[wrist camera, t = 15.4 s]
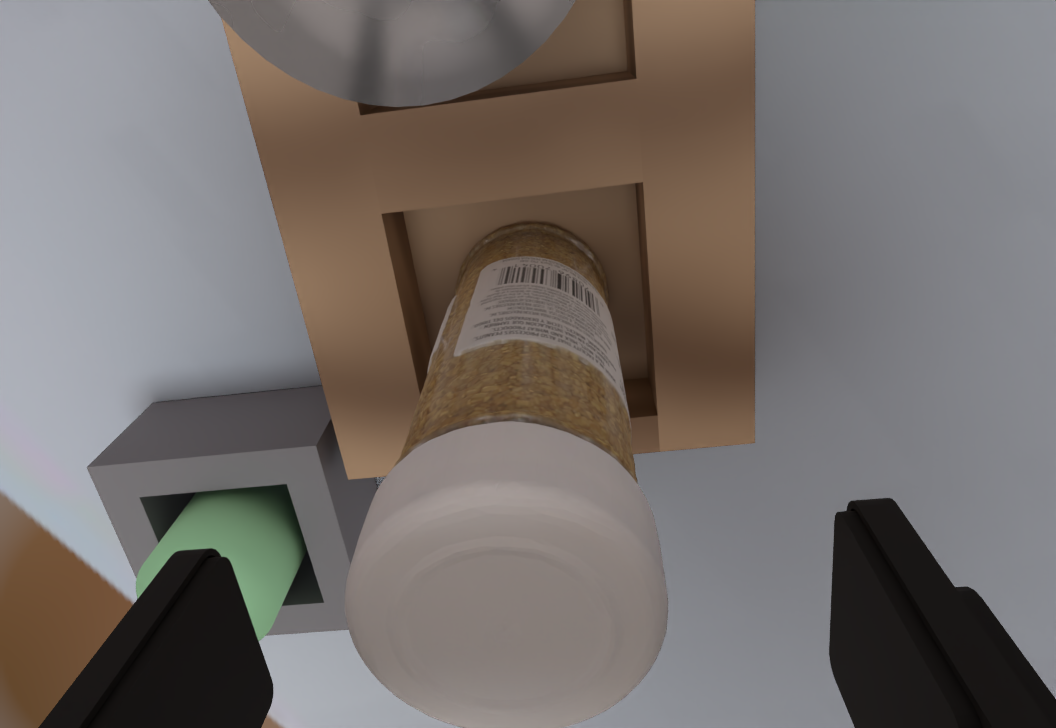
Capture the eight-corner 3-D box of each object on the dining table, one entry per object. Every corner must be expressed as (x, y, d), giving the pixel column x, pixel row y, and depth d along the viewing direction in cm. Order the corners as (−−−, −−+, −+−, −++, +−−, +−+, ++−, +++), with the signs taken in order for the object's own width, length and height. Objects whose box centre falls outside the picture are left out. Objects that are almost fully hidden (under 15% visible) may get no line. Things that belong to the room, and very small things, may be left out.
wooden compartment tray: (728, 386, 25) (754, 443, 21) (374, 420, 26) (348, 479, 22) (717, -312, 17) (755, -386, 14) (215, -224, 18) (141, -275, 15)
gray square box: (392, 548, 28) (368, 628, 24) (214, 562, 29) (165, 642, 25) (350, 382, 25) (316, 445, 22) (152, 403, 26) (86, 467, 22)
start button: (332, 549, 26) (291, 646, 22) (222, 558, 26) (163, 655, 22) (303, 451, 24) (254, 538, 20) (186, 462, 25) (115, 549, 21)
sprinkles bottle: (429, 310, 23) (278, 658, 10) (513, 185, 21) (450, 430, 9) (552, 388, 24) (544, 790, 11) (642, 276, 22) (746, 608, 10)
